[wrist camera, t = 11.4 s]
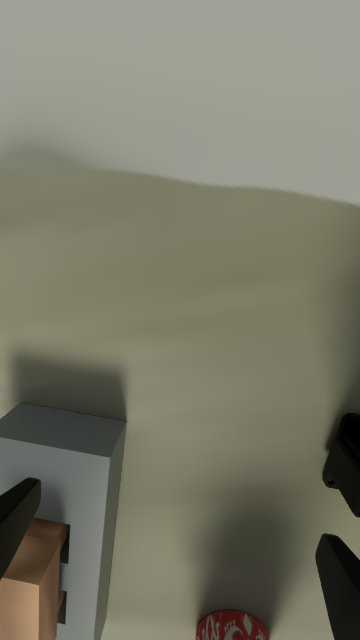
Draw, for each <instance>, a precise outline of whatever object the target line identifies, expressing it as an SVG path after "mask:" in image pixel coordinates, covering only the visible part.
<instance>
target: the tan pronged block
mask: <svg viewBox="0 0 360 640" xmlns="http://www.w3.org/2000/svg"><path fill="white" fill-rule="evenodd" d="M69 532H70V524H65V523H60V522H55V521H49V520H44V519H39V518H33V520H32V522H31V524H30V526H29V528H28V530H27V532H26V534H25V536H24V538H23V540H22V542H21V544H20V546H19V548H18V550H17V552H16V554H15V556H14V558H13V560H12V562H11V564H10V565H9V567H8V569H7V571H6V572H5V574H4V576H3V577H2V579H1V581H0V640H55V639H56V637H57V616H58V611H59V609H60V606H61V604H62V601H63V599H64V596H65V594H66V591H63V590H59V562H60V551H61V548H62V546H63V544H64V542H65V540H66V538H67V536H68V534H69Z"/></svg>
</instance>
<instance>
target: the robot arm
mask: <svg viewBox="0 0 360 640" xmlns="http://www.w3.org/2000/svg"><path fill="white" fill-rule="evenodd" d="M351 419H353V421H351V422H349V421H350V420H351ZM329 480H331V481H329ZM323 482H324V483H325V485H326V486H327V487H329V488H334V489H339V490H340V492H341V494H342V495H343V497H344V499H345V501H346V502H347V504H348V506H349V507H350V509H351V511H352V512H353V514H354V515H355V516H356V517H360V414H355V413H348V414H346V415H344V417H343V419H342V422H341V425H340V428H339V431H338V434H337V437H336V439H335V440H334V442H333V445H332V448H331V451H330V454H329V457H328V460H327V463H326V469H325V472H324V475H323ZM40 502H41V480H40V479H37V478H32V477H28V478H26V479H24V480H23V481H21V482H20V483H18V484H17V485H15V486H14V487H12V488H11V489H9V490H8V491H6V492H5V493H3V494H2V495H0V581H1V579H2V577H3V576H4V574H5V572H6V571H7V569H8V567H9V565H10V564H11V562H12V560H13V558H14V556H15V554H16V552H17V550H18V548H19V546H20V544H21V542H22V540H23V538H24V536H25V534H26V532H27V530H28V528H29V526H30V524H31V522H32V520H33V518H34V516H35V514H36V512H37V510H38V508H39V505H40ZM315 558H316V564H317V568H318V573H319V577H320V582H321V586H322V590H323V595H324V599H325V603H326V608H327V612H328V617H329V621H330V625H331V629H332V632H333V636H334V639H335V640H360V560H359V559H358V558H357V557H356V555H355V554H354V553H353V552H352V551H351V550H350V549H349V548H348V546H347V545H346V544H345V543H344V542H343V541H342V540H341V539H340V538H339V537H338V536H336V535H332V534H327V533H324V534H323V535H322V536H321V539H320V542H319V544H318V547H317V550H316V555H315Z"/></svg>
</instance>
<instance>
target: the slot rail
mask: <svg viewBox="0 0 360 640" xmlns="http://www.w3.org/2000/svg"><path fill="white" fill-rule="evenodd" d="M126 422H127V421H122V420H116V419H111V418H105V417H99V416H94V415H88V414H83V413H77V412H72V411H66V410H60V409H55V408H49V407H44V406H38V405H32V404H27V403H20V404H18V405H17V406H16V407H15V408H14V409H12V410H11V411H10V412H9V413H7V414H6V415H5V416H4V417H2V418H1V419H0V495H2V494H3V493H5V492H6V491H8V490H9V489H11V488H12V487H14V486H15V485H17V484H18V483H20V482H21V481H23V480H24V479H26V478H28V477H32V478H37V479H40V480H41V502H40V505H39V508H38V510H37V512H36V514H35V516H34V518H39V519H44V520H49V521H55V522H60V523H65V524H70V532H69V534H68V536H67V538H66V540H65V542H64V544H63V546H62V548H61V551H60V562H59V590H63V591H66V594H65V596H64V599H63V601H62V604H61V606H60V609H59V611H58V616H57V637H56V639H55V640H100V639H101V635H102V631H103V627H104V624H105V620H106V611H107V602H108V592H109V583H110V573H111V564H112V554H113V545H114V536H115V526H116V517H117V507H118V498H119V488H120V479H121V470H122V460H123V451H124V441H125V432H126Z"/></svg>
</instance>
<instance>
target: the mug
mask: <svg viewBox="0 0 360 640" xmlns="http://www.w3.org/2000/svg"><path fill="white" fill-rule="evenodd" d="M196 640H269V636H268V633H267V630H266V629H265V627H264V626H263V625H262V624H261V623H260V622H259V621H258V620H257V619H255V618H254V617H252V616H250V615H248V614H246V613H243V612H239V611H232V610H225V611H218V612H215V613H212V614H210V615H208V616H206V617H205V618H204V619H203V620H202V621H201V622H200V623H199V625H198V628H197V631H196Z"/></svg>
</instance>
